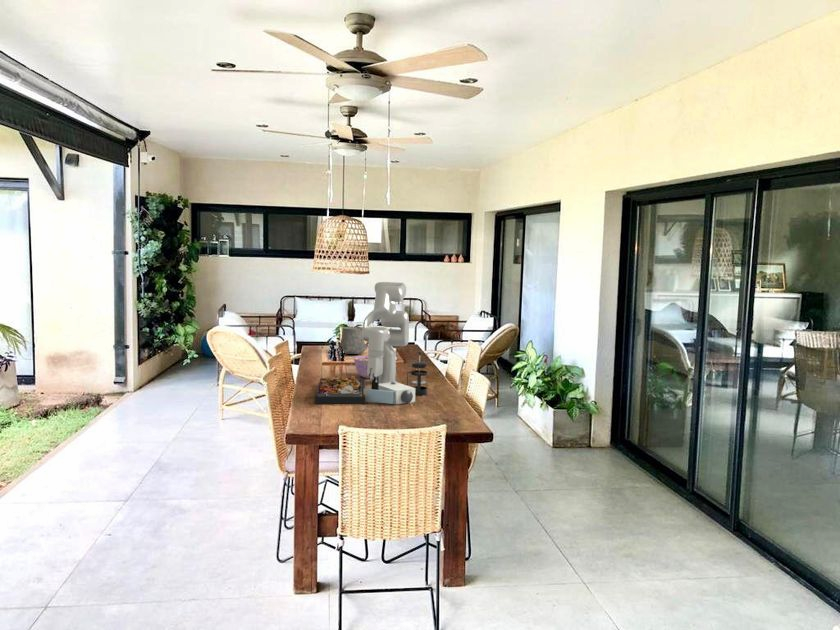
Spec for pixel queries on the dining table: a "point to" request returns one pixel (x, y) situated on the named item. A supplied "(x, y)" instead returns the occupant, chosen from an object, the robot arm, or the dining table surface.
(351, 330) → the vessel
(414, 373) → the french press
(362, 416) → the dining table surface
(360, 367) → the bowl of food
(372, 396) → the side door
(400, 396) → the grey box with knob
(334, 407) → the dining table surface
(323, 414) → the dining table surface
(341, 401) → the food platter
